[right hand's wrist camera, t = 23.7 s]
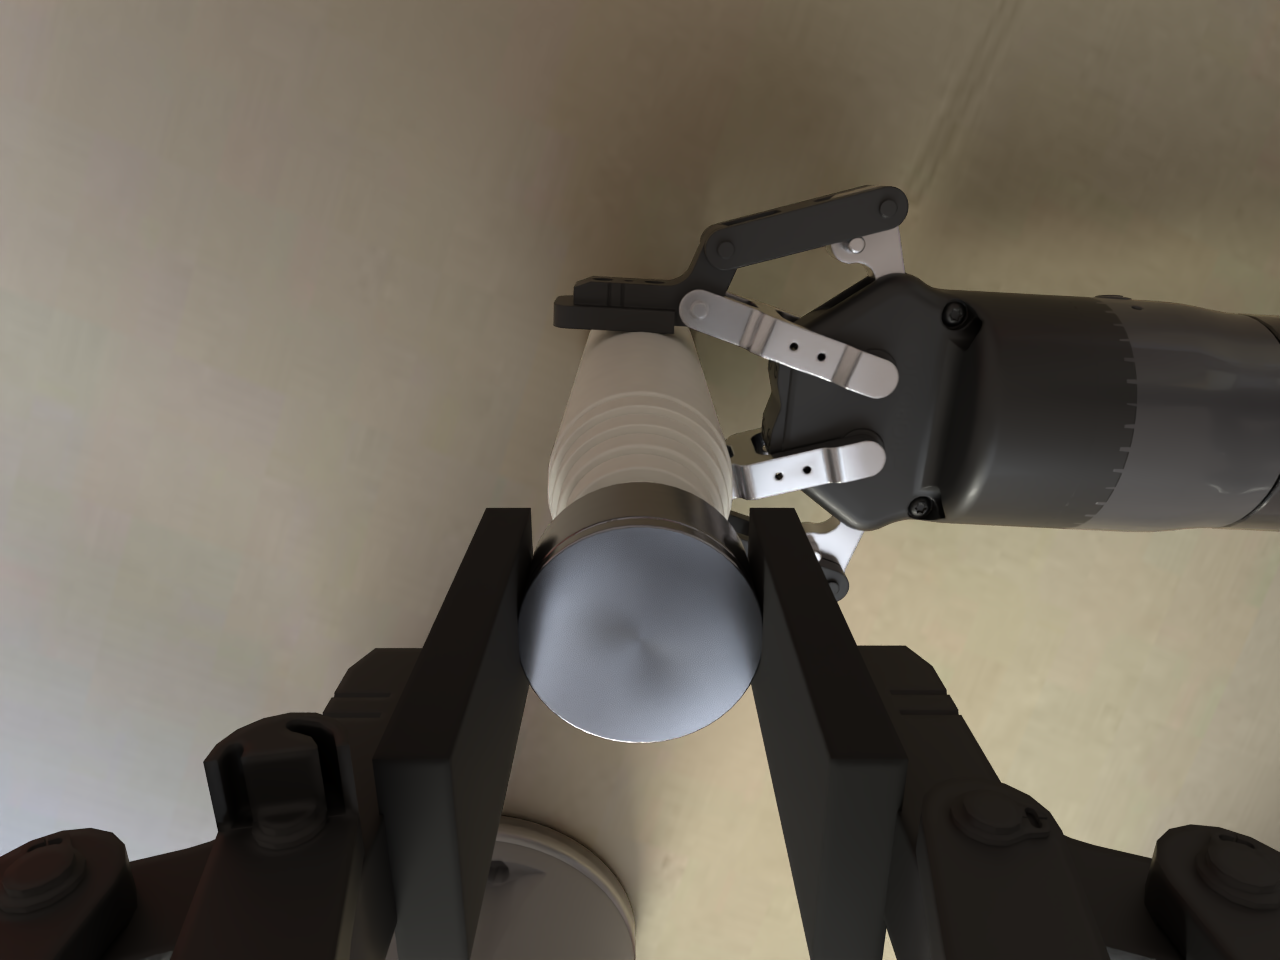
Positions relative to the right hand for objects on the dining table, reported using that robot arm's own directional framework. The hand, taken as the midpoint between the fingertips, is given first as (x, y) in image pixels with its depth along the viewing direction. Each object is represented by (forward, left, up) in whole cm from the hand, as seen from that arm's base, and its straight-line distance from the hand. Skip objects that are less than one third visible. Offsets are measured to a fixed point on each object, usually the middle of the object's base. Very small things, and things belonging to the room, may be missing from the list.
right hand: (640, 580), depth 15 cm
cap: (0, 0, +2) cm, 2 cm away
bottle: (0, 0, -20) cm, 20 cm away
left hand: (+2, +2, -14) cm, 14 cm away
